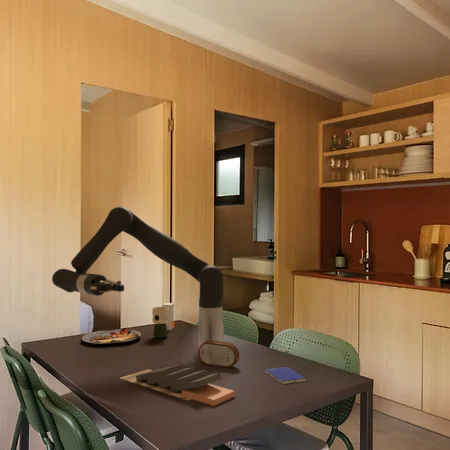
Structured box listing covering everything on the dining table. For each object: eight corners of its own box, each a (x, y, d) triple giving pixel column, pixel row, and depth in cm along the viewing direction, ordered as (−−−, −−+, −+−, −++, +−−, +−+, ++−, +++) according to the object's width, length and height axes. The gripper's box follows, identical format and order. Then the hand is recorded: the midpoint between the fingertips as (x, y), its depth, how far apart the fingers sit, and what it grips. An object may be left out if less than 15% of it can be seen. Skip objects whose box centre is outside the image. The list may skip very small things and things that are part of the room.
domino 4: (170, 386, 137) (199, 380, 130) (191, 378, 144) (220, 372, 137) (171, 391, 137) (200, 386, 129) (192, 383, 144) (221, 378, 136)
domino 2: (146, 379, 144) (172, 374, 136) (167, 372, 151) (193, 366, 143) (147, 384, 143) (173, 379, 136) (168, 377, 150) (195, 372, 143)
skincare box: (170, 330, 220) (170, 305, 220) (161, 330, 221) (161, 304, 221) (174, 327, 226) (174, 303, 226) (165, 327, 227) (165, 302, 227)
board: (119, 380, 149) (119, 378, 149) (148, 371, 159) (148, 369, 159) (188, 403, 130) (188, 400, 130) (216, 391, 140) (216, 388, 140)
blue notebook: (265, 369, 158) (282, 380, 147) (287, 366, 161) (305, 377, 150) (265, 373, 158) (282, 385, 147) (287, 371, 161) (305, 382, 150)
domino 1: (135, 375, 147) (160, 370, 140) (157, 369, 154) (182, 363, 147) (136, 381, 146) (161, 376, 139) (158, 374, 153) (183, 369, 146)
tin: (239, 367, 164) (239, 343, 164) (236, 369, 161) (236, 345, 161) (201, 361, 170) (201, 338, 170) (197, 364, 168) (197, 340, 168)
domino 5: (181, 390, 134) (213, 400, 126) (203, 381, 141) (234, 390, 133) (181, 395, 134) (213, 406, 126) (202, 387, 141) (234, 396, 133)
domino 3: (158, 382, 140) (185, 377, 133) (179, 375, 147) (206, 369, 140) (159, 388, 140) (186, 383, 133) (180, 380, 147) (207, 375, 140)
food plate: (137, 331, 218) (137, 324, 217) (145, 344, 195) (145, 335, 195) (81, 337, 210) (81, 329, 210) (83, 351, 188) (82, 342, 187)
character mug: (147, 336, 209) (147, 307, 209) (161, 334, 213) (161, 305, 213) (159, 341, 200) (159, 310, 200) (174, 338, 205) (174, 308, 205)
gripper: (106, 292, 175) (137, 297, 164) (75, 296, 165) (106, 301, 154) (107, 272, 175) (137, 275, 164) (75, 275, 165) (106, 278, 154)
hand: (122, 288), depth 159 cm, fingers closed
